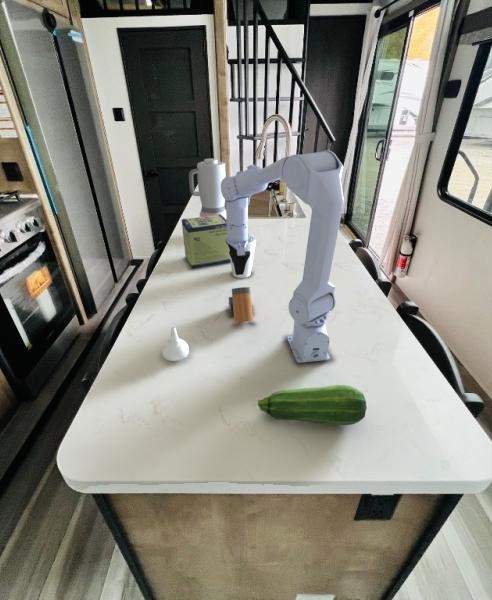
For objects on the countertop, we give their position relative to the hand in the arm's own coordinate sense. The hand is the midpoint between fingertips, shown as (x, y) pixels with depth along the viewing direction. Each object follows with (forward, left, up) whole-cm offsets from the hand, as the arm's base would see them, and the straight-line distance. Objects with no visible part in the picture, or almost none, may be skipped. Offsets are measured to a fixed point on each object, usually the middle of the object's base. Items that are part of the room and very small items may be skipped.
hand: (237, 268), depth 93 cm
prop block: (-7, 0, -10) cm, 13 cm away
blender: (+52, +4, -11) cm, 53 cm away
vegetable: (-45, -7, -11) cm, 47 cm away
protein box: (+29, +7, -11) cm, 32 cm away
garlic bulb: (-23, +18, -11) cm, 31 cm away
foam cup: (+16, -4, -11) cm, 19 cm away
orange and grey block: (-12, +1, -10) cm, 16 cm away
